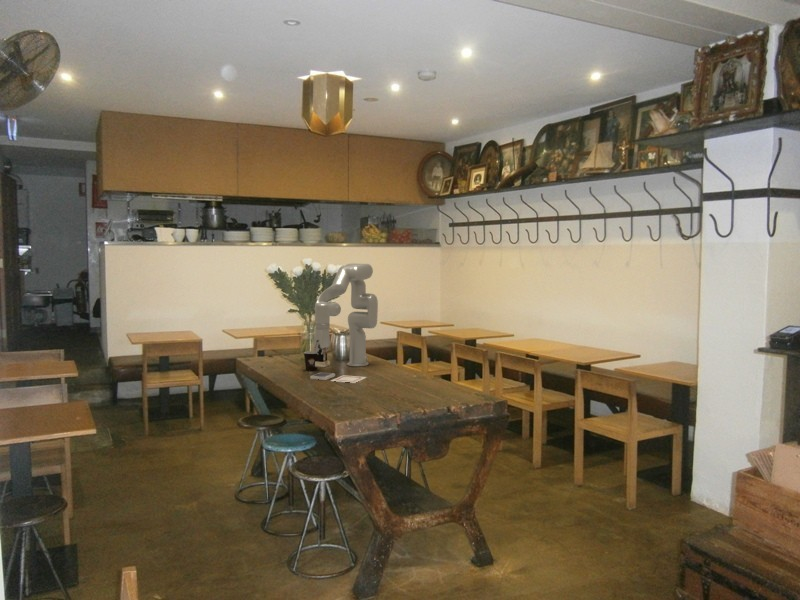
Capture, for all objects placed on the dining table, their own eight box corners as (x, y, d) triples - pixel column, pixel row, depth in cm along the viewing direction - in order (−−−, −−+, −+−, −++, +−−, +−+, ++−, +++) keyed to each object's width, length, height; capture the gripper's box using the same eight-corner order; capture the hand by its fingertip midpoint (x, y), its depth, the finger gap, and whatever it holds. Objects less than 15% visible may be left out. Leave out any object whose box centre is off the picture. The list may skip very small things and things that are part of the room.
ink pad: (320, 374, 337) (320, 372, 337) (335, 376, 334) (335, 373, 334) (310, 378, 327) (310, 375, 327) (325, 380, 324) (325, 377, 324)
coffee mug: (301, 370, 348) (301, 353, 347) (308, 368, 356) (308, 350, 355) (320, 372, 344) (319, 354, 344) (326, 369, 352) (326, 352, 352)
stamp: (320, 365, 333) (320, 343, 333) (329, 366, 332) (329, 344, 331) (314, 367, 327) (315, 345, 327) (324, 368, 326) (324, 345, 325)
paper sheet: (343, 375, 335) (343, 375, 335) (366, 377, 330) (366, 376, 330) (330, 381, 321) (330, 380, 321) (354, 383, 316) (354, 382, 316)
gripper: (323, 324, 337) (323, 358, 338) (308, 327, 322) (308, 363, 323) (335, 325, 334) (335, 359, 336) (321, 328, 319) (321, 364, 320)
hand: (322, 360), depth 329 cm, fingers closed on stamp, 3 cm apart
